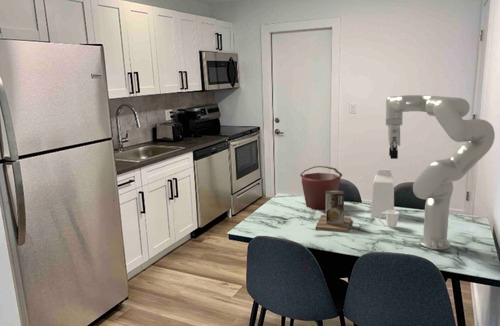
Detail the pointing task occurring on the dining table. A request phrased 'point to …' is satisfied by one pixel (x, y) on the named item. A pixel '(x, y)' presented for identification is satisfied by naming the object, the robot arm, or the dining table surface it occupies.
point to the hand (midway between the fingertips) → (393, 157)
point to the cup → (391, 218)
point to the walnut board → (333, 225)
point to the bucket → (319, 187)
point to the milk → (382, 193)
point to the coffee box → (334, 207)
